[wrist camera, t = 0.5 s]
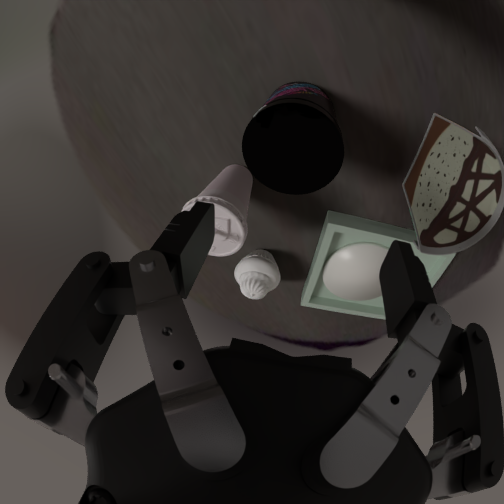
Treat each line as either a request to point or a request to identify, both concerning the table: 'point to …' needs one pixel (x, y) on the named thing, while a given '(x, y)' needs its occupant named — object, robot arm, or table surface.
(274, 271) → the muffin
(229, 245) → the smoothie
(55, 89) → the table surface
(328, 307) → the tray
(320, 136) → the supplement container
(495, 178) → the food container
